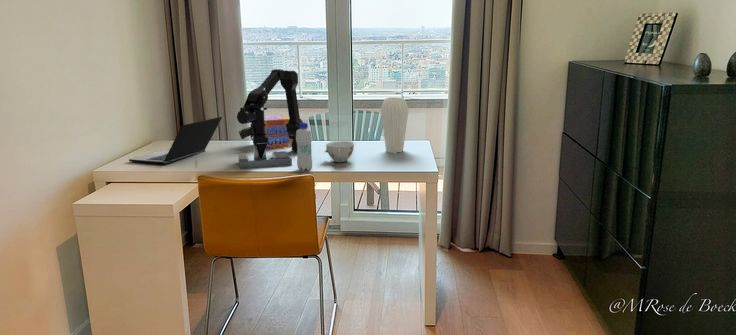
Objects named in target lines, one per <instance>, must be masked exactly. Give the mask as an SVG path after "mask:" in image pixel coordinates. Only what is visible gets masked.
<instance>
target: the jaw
mask: <svg viewBox="0 0 736 335" xmlns="http://www.w3.org/2000/svg"><path fill="white" fill-rule="evenodd" d="M271 158H273V159H285V158H289V154H288V153H287V152H286V151H285V150H283V151H273V152H272V157H271Z"/></svg>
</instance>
